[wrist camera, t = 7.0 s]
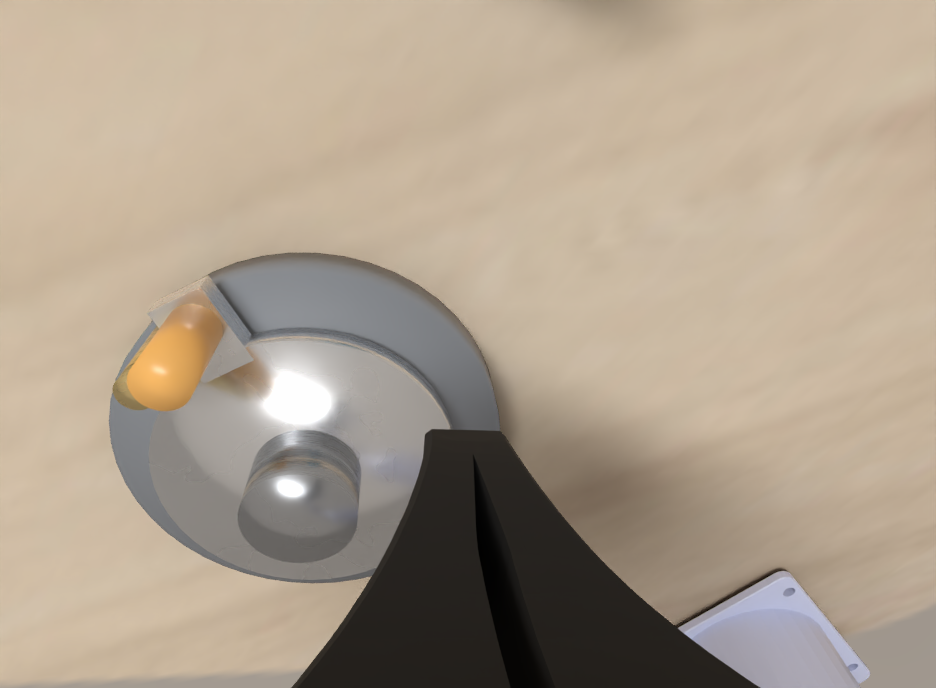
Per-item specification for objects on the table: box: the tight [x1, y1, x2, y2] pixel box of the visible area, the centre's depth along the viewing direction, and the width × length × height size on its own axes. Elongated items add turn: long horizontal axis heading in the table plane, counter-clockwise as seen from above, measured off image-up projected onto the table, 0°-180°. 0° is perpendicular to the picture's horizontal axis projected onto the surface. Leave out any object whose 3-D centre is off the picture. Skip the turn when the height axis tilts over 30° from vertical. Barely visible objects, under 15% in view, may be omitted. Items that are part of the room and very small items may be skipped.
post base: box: [109, 253, 500, 583], centre depth 20 cm, size 12×12×4 cm
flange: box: [127, 275, 453, 580], centre depth 18 cm, size 11×9×4 cm
